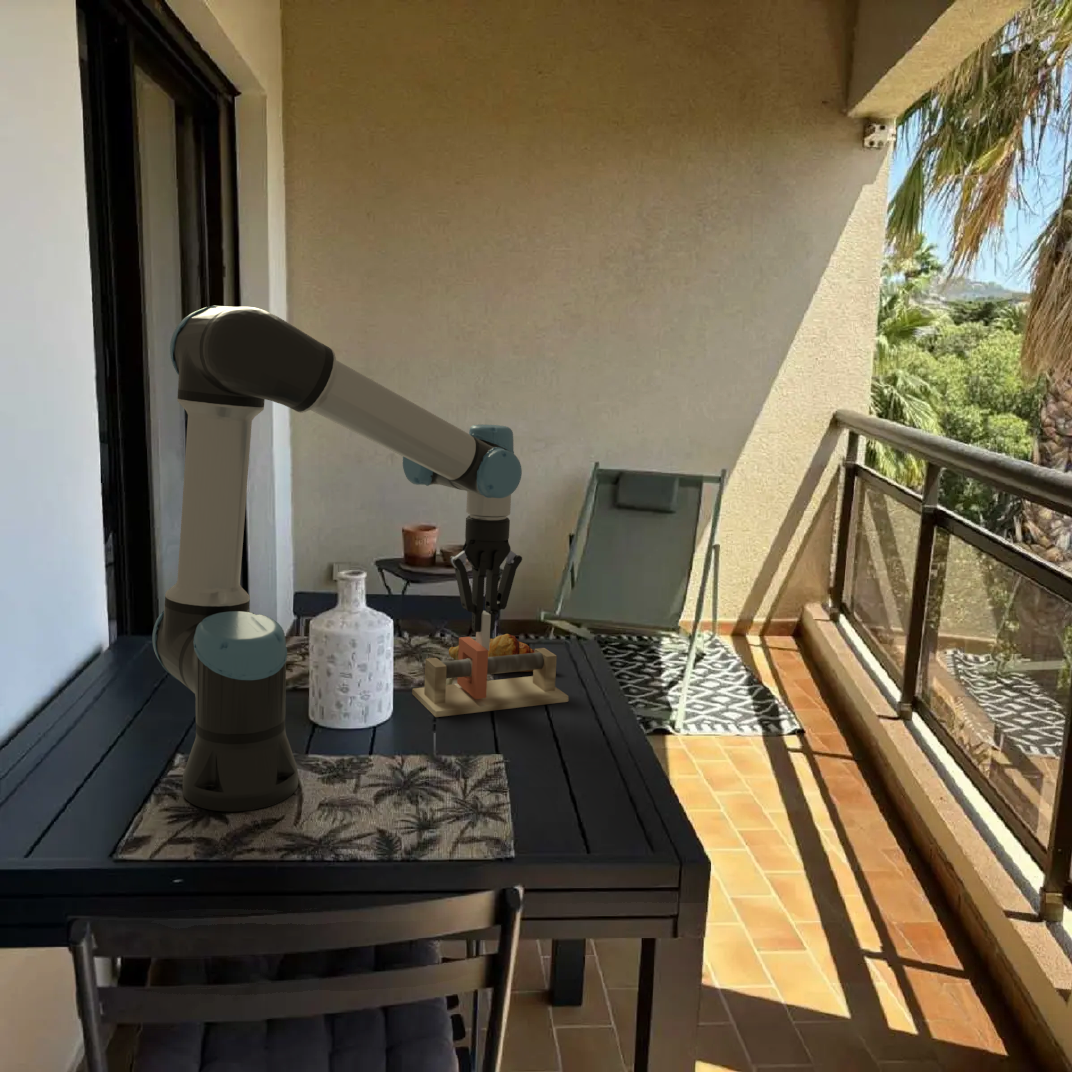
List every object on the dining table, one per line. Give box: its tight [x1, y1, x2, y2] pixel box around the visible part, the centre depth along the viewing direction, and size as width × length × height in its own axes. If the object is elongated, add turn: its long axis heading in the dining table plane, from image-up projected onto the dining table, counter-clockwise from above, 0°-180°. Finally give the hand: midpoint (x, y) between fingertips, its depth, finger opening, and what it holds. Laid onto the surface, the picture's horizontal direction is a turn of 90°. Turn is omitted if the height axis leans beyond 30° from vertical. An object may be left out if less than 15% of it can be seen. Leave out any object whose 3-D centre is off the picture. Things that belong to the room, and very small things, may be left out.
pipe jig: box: [411, 647, 569, 718], centre depth 178 cm, size 25×12×8 cm, turn 116°
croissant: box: [448, 633, 535, 673], centre depth 196 cm, size 21×10×8 cm, turn 78°
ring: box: [456, 636, 488, 699], centre depth 176 cm, size 2×8×8 cm, turn 26°
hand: (482, 648), depth 176 cm, fingers closed
